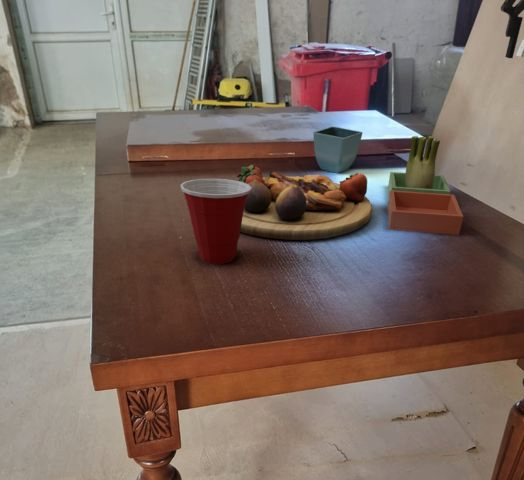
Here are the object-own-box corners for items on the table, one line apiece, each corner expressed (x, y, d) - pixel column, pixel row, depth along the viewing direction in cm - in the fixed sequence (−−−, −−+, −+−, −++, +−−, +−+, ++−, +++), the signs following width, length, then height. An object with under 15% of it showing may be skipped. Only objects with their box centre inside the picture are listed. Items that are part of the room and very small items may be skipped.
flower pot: (340, 177, 125) (344, 137, 120) (309, 170, 129) (312, 131, 124) (358, 169, 130) (363, 131, 125) (329, 163, 135) (332, 126, 130)
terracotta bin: (450, 212, 106) (454, 194, 104) (458, 235, 96) (463, 216, 94) (387, 207, 108) (389, 190, 106) (388, 229, 97) (392, 211, 95)
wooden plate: (370, 192, 116) (375, 153, 111) (373, 249, 90) (380, 202, 85) (228, 182, 119) (227, 144, 115) (191, 235, 93) (189, 189, 89)
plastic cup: (260, 249, 89) (261, 177, 82) (236, 275, 81) (236, 198, 74) (201, 240, 92) (198, 170, 85) (173, 264, 83) (167, 189, 77)
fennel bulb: (399, 192, 114) (408, 134, 107) (416, 189, 116) (427, 132, 109) (416, 200, 110) (428, 140, 103) (435, 197, 112) (447, 138, 105)
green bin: (440, 191, 117) (443, 175, 115) (446, 208, 108) (450, 191, 106) (387, 187, 119) (390, 171, 117) (389, 204, 109) (392, 187, 107)
